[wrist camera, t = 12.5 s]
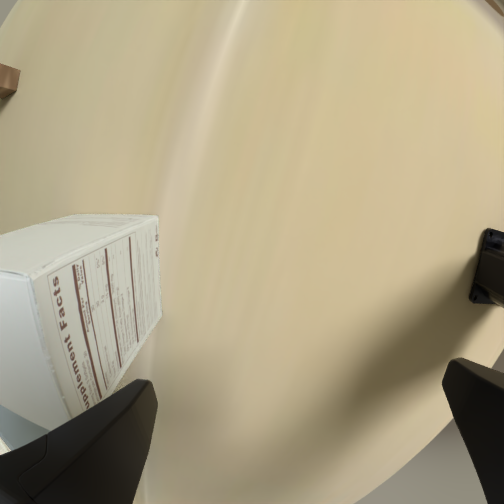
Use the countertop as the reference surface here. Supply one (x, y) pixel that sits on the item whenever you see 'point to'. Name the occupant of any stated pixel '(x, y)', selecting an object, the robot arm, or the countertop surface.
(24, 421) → the door
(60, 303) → the supplement box
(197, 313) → the countertop surface
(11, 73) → the door frame
